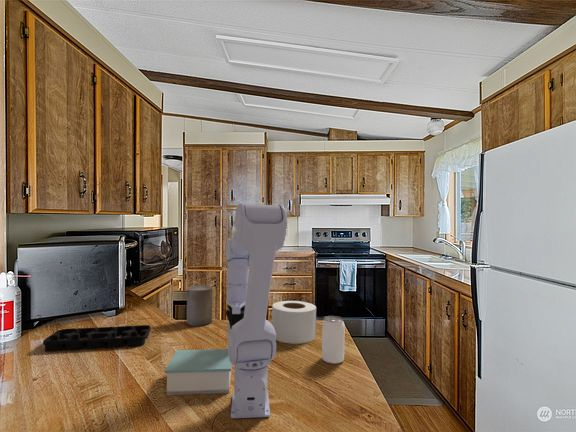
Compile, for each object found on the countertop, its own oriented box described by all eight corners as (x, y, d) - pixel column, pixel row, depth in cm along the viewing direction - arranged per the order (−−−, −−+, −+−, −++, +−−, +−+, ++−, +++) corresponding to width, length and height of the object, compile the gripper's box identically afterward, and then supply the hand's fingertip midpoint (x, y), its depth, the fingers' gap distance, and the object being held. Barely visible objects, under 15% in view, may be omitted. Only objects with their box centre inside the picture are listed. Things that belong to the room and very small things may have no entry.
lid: (231, 371, 77) (231, 368, 77) (164, 373, 75) (165, 370, 75) (233, 351, 89) (233, 348, 89) (176, 352, 88) (176, 350, 88)
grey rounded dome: (246, 342, 88) (246, 327, 88) (226, 342, 88) (226, 327, 88) (247, 335, 93) (247, 321, 93) (228, 335, 93) (228, 321, 93)
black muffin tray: (50, 341, 109) (50, 329, 109) (149, 330, 122) (149, 319, 122) (36, 361, 93) (36, 348, 93) (152, 346, 106) (152, 334, 106)
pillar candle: (215, 319, 135) (215, 282, 135) (206, 326, 125) (207, 286, 125) (192, 318, 136) (192, 281, 136) (182, 325, 126) (182, 286, 126)
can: (326, 365, 93) (327, 322, 94) (318, 356, 100) (319, 316, 100) (347, 363, 95) (348, 321, 95) (338, 354, 101) (339, 314, 102)
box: (228, 393, 77) (229, 371, 77) (166, 395, 76) (167, 373, 76) (231, 370, 89) (232, 351, 89) (177, 371, 88) (178, 352, 88)
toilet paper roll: (321, 333, 121) (322, 303, 121) (304, 347, 107) (305, 313, 107) (283, 326, 128) (284, 298, 128) (263, 338, 114) (263, 307, 114)
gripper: (252, 288, 84) (251, 342, 84) (252, 278, 98) (251, 325, 98) (224, 288, 83) (223, 343, 83) (228, 278, 98) (227, 325, 97)
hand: (236, 333), depth 91 cm, fingers closed on grey rounded dome, 5 cm apart
